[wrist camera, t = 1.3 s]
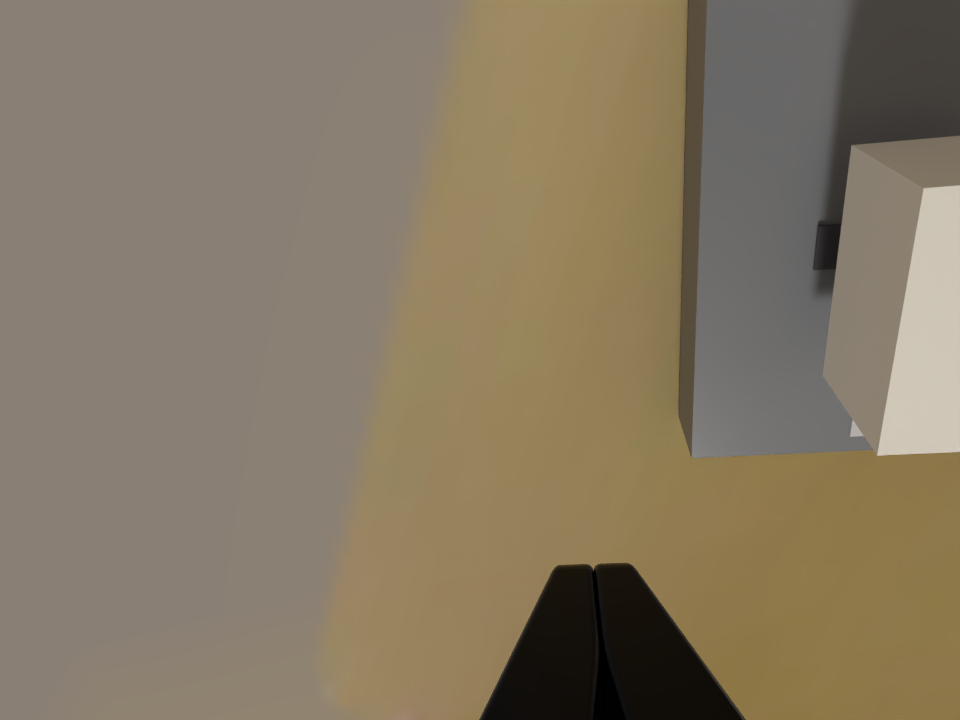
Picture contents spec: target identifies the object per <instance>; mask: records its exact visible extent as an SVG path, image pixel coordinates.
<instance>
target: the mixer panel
mask: <svg viewBox="0 0 960 720" xmlns="http://www.w3.org/2000/svg"><path fill="white" fill-rule="evenodd" d="M950 136H960V0H688V34H687V77H686V120H685V163H684V206H683V249H682V292H681V334H680V377H679V419H680V422H681V426H682V429H683V432H684V435H685V438H686V442H687V445H688V448H689V451H690V455H691V458H703V457H725V456H747V455H770V454H792V453H814V452H836V451H858V450H873V449H872V447H871V446H870V444H869V443H868V441H867V440H866V438H865V437H864V436H863V434H862V433H861V431H860V430H859V428H858V427H857V425H856V424H855V422H854V421H853V419H852V418H851V416H850V415H849V414H848V412H847V411H846V409H845V408H844V406H843V405H842V403H841V402H840V400H839V399H838V397H837V396H836V395H835V393H834V392H833V390H832V389H831V387H830V386H829V384H828V383H827V381H826V380H825V378H824V377H823V368H824V360H825V352H826V344H827V336H828V328H829V320H830V312H831V304H832V296H833V288H834V280H835V273H836V265H837V257H838V249H839V241H840V233H841V225H842V217H843V209H844V201H845V193H846V185H847V177H848V169H849V161H850V153H851V145H858V144H870V143H881V142H893V141H904V140H916V139H927V138H939V137H950Z"/></svg>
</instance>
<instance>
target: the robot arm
mask: <svg viewBox="0 0 960 720" xmlns="http://www.w3.org/2000/svg"><path fill="white" fill-rule="evenodd" d="M479 720H746V719H745V718H744V717H743V715H742V714H741V713H740V711H739V710H738V708H737V707H736V706H735V704H734V703H733V702H732V700H731V699H730V697H729V696H728V695H727V693H726V692H725V691H724V689H723V688H722V687H721V685H720V684H719V682H718V681H717V680H716V678H715V677H714V676H713V674H712V673H711V671H710V670H709V669H708V667H707V666H706V665H705V663H704V662H703V660H702V659H701V658H700V656H699V655H698V654H697V652H696V651H695V650H694V648H693V647H692V645H691V644H690V643H689V641H688V640H687V639H686V637H685V636H684V634H683V633H682V632H681V630H680V629H679V628H678V626H677V625H676V623H675V622H674V621H673V619H672V618H671V617H670V615H669V614H668V613H667V611H666V610H665V608H664V607H663V606H662V604H661V603H660V602H659V600H658V599H657V597H656V596H655V595H654V593H653V592H652V591H651V589H650V588H649V586H648V585H647V584H646V582H645V581H644V580H643V578H642V577H641V575H640V574H639V573H638V571H637V570H636V569H635V568H634V567H633V566H632V565H631V564H629V563H607V564H598V565H596V566H595V568H594V572H593V568H592V567H591V566H590V565H588V564H576V565H558V566H557V567H555V568H554V570H553V571H552V573H551V575H550V577H549V579H548V581H547V583H546V585H545V587H544V589H543V591H542V593H541V595H540V597H539V599H538V601H537V603H536V605H535V607H534V609H533V611H532V613H531V615H530V617H529V620H528V622H527V624H526V626H525V628H524V630H523V632H522V634H521V636H520V638H519V640H518V642H517V644H516V646H515V648H514V650H513V652H512V654H511V656H510V658H509V660H508V662H507V664H506V666H505V668H504V670H503V672H502V674H501V677H500V679H499V681H498V683H497V685H496V687H495V689H494V691H493V693H492V695H491V697H490V699H489V701H488V703H487V705H486V707H485V709H484V711H483V713H482V715H481V717H480V719H479Z"/></svg>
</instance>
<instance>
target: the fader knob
mask: <svg viewBox="0 0 960 720" xmlns="http://www.w3.org/2000/svg"><path fill="white" fill-rule="evenodd" d="M823 377H824V378H825V380H826V381H827V383H828V384H829V386H830V387H831V389H832V390H833V392H834V393H835V395H836V396H837V397H838V399H839V400H840V402H841V403H842V405H843V406H844V408H845V409H846V411H847V412H848V414H849V415H850V416H851V418H852V419H853V421H854V422H855V424H856V425H857V427H858V428H859V430H860V431H861V433H862V434H863V436H864V437H865V438H866V440H867V441H868V443H869V444H870V446H871V447H872V449H873V450H874V452H875V453H876V455H899V454H922V453H944V452H960V136H950V137H939V138H927V139H916V140H904V141H893V142H881V143H870V144H858V145H851V153H850V161H849V169H848V177H847V185H846V193H845V201H844V209H843V217H842V225H841V233H840V241H839V249H838V257H837V265H836V273H835V280H834V288H833V296H832V304H831V312H830V320H829V328H828V336H827V344H826V352H825V360H824V368H823Z"/></svg>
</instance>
